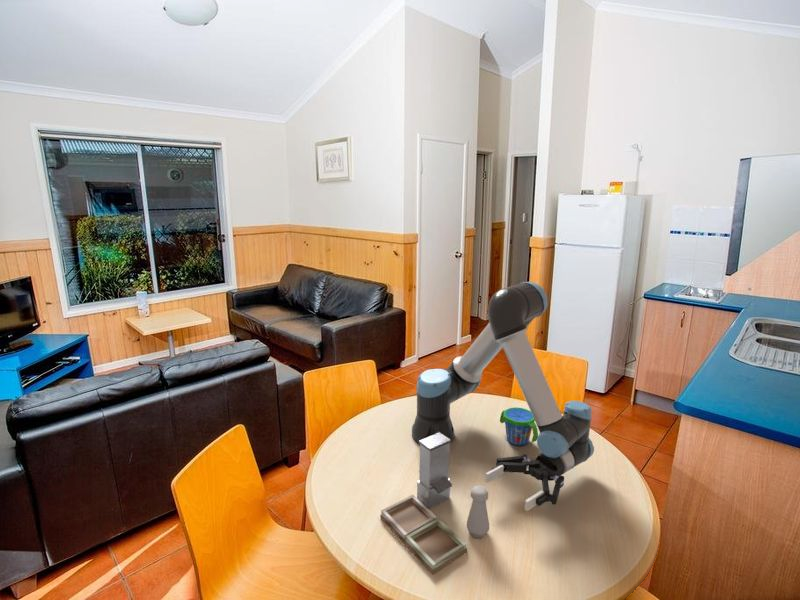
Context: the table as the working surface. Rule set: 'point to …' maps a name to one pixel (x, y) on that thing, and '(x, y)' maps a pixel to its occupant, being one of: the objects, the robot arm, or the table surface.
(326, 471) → the table surface
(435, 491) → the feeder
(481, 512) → the salt shaker
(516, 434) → the snack cup
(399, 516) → the grey brown flat rectangle
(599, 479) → the table surface
